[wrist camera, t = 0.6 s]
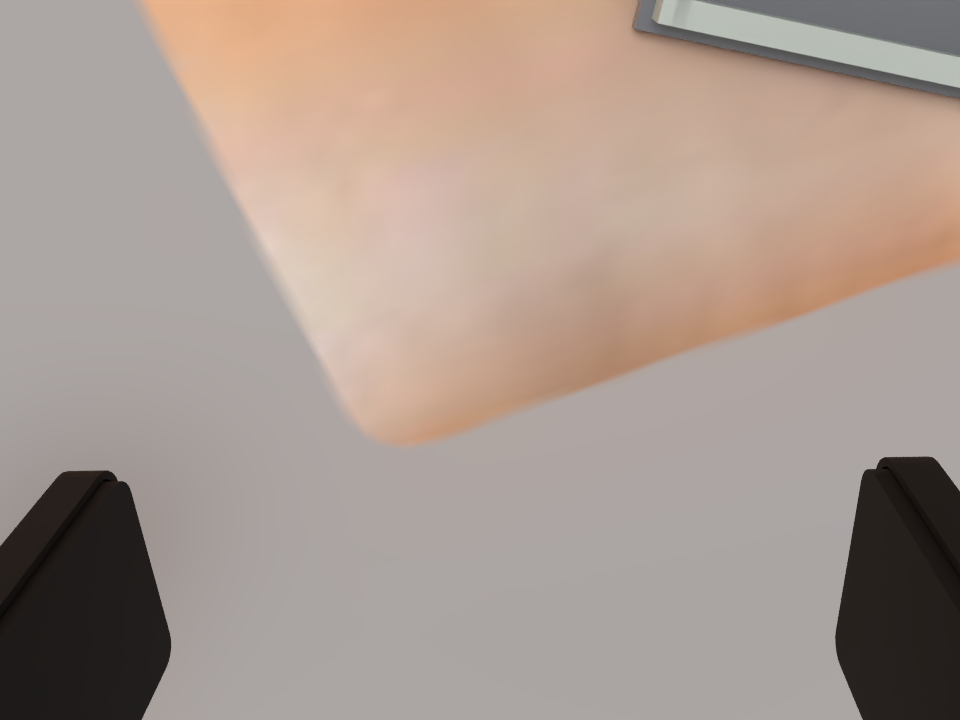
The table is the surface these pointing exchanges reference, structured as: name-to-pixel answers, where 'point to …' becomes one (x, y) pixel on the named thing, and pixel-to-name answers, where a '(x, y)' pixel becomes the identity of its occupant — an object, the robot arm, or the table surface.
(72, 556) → the robot arm
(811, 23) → the shallow square tray
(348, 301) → the table surface
